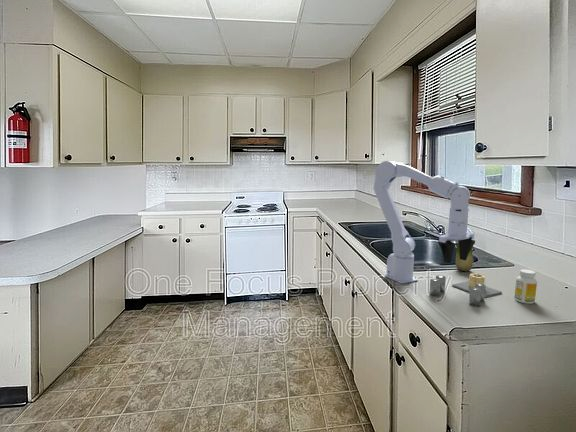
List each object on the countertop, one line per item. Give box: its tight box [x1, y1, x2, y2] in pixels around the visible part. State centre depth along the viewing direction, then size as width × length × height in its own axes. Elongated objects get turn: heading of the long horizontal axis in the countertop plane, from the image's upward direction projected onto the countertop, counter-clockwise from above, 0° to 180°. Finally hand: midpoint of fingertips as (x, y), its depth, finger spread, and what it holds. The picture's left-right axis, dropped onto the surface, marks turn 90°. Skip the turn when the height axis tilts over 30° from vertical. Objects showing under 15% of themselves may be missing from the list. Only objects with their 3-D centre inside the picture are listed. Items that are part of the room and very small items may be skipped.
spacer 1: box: [429, 278, 441, 298], centre depth 115 cm, size 3×3×5 cm
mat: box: [451, 280, 503, 298], centre depth 120 cm, size 12×9×1 cm
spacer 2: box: [435, 274, 447, 293], centre depth 119 cm, size 3×3×5 cm
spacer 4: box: [475, 283, 487, 303], centre depth 111 cm, size 3×3×5 cm
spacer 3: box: [468, 287, 481, 308], centre depth 107 cm, size 3×3×5 cm
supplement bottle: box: [513, 269, 538, 305], centre depth 110 cm, size 5×5×10 cm
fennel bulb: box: [455, 241, 474, 272], centre depth 141 cm, size 6×5×12 cm
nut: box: [468, 273, 486, 288], centre depth 120 cm, size 5×4×4 cm
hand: (455, 261), depth 121 cm, fingers open, 7 cm apart
